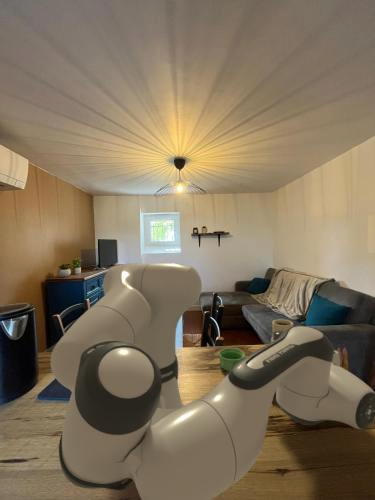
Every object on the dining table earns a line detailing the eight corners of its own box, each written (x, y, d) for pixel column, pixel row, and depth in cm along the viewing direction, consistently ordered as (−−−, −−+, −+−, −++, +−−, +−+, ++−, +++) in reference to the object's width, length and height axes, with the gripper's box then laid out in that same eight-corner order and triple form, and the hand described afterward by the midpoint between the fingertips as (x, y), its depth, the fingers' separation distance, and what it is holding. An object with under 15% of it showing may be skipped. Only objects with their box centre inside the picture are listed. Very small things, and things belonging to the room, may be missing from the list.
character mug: (268, 350, 99) (267, 317, 98) (286, 350, 99) (286, 317, 98) (279, 365, 88) (278, 328, 87) (299, 364, 88) (299, 327, 87)
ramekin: (244, 374, 83) (244, 361, 83) (216, 371, 86) (216, 358, 86) (245, 361, 92) (245, 349, 92) (220, 358, 94) (220, 346, 94)
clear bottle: (277, 375, 73) (276, 337, 72) (267, 366, 78) (267, 330, 77) (292, 372, 74) (292, 335, 73) (282, 363, 79) (282, 329, 78)
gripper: (272, 388, 61) (246, 360, 74) (344, 375, 65) (307, 351, 79) (272, 362, 60) (245, 339, 74) (344, 351, 65) (307, 331, 79)
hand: (278, 345), depth 76 cm, fingers closed on clear bottle, 5 cm apart
